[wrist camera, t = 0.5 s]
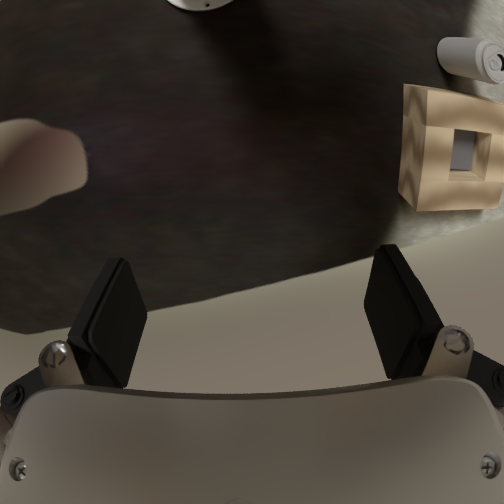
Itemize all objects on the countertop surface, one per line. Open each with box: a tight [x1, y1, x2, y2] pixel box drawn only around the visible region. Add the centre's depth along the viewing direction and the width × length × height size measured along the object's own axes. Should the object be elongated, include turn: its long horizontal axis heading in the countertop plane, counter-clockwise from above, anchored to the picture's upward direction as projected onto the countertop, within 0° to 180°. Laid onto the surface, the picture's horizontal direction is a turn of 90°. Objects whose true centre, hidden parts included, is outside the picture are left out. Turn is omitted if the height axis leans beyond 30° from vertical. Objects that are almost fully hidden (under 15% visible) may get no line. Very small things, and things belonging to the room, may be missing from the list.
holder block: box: [398, 84, 504, 212], centre depth 38 cm, size 18×18×7 cm
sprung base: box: [450, 129, 475, 170], centre depth 38 cm, size 7×7×1 cm
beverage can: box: [437, 37, 504, 84], centre depth 27 cm, size 6×6×12 cm
